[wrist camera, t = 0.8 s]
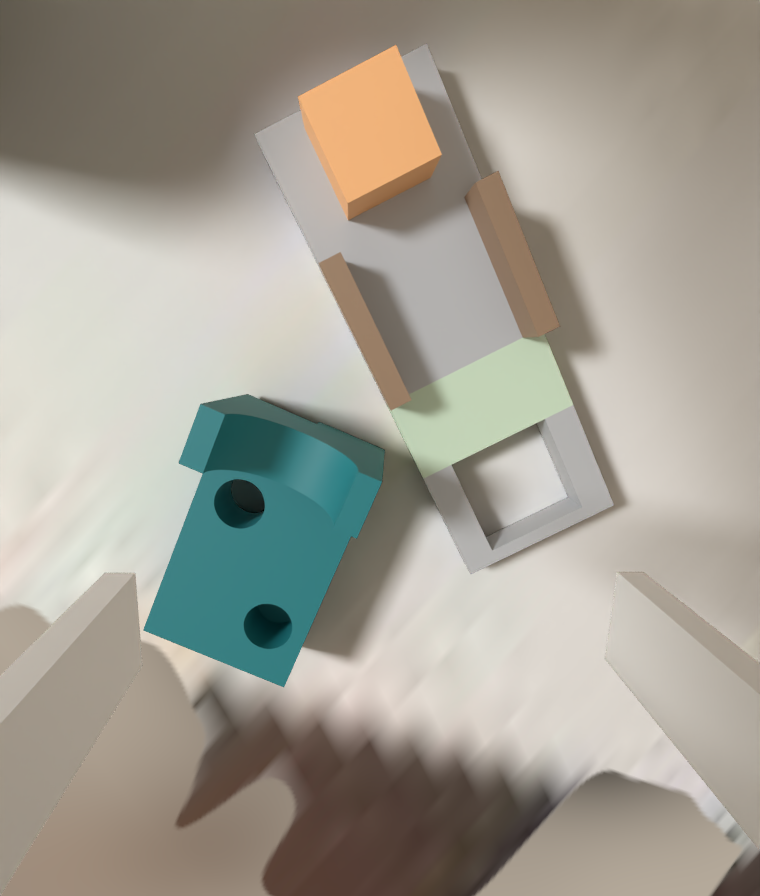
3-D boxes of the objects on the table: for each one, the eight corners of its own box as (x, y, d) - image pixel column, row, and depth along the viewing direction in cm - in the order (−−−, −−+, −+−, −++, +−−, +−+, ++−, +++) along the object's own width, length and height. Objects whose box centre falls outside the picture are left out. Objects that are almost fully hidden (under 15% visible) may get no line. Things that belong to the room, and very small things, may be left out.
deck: (261, 149, 34) (244, 111, 28) (421, 65, 33) (434, 11, 28) (463, 560, 40) (480, 593, 35) (597, 495, 40) (636, 518, 35)
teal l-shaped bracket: (253, 393, 37) (200, 403, 27) (384, 450, 38) (381, 482, 28) (173, 597, 40) (99, 677, 30) (297, 647, 41) (264, 743, 31)
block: (304, 127, 31) (297, 96, 27) (390, 82, 31) (395, 44, 27) (347, 220, 32) (347, 203, 29) (430, 177, 32) (441, 154, 28)
